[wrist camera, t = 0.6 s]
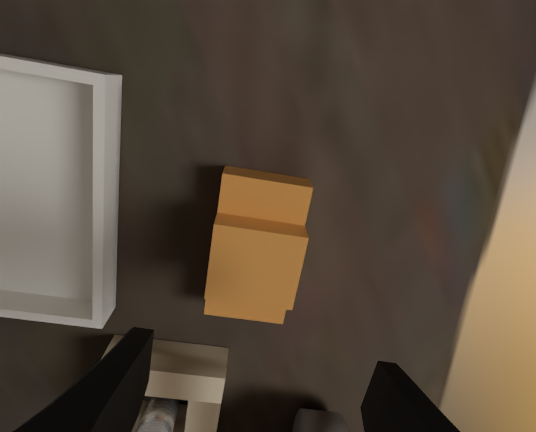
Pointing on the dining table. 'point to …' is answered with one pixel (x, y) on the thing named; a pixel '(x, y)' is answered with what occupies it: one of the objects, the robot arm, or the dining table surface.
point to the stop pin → (158, 415)
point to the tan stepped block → (257, 245)
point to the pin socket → (186, 381)
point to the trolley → (318, 421)
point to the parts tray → (58, 191)
